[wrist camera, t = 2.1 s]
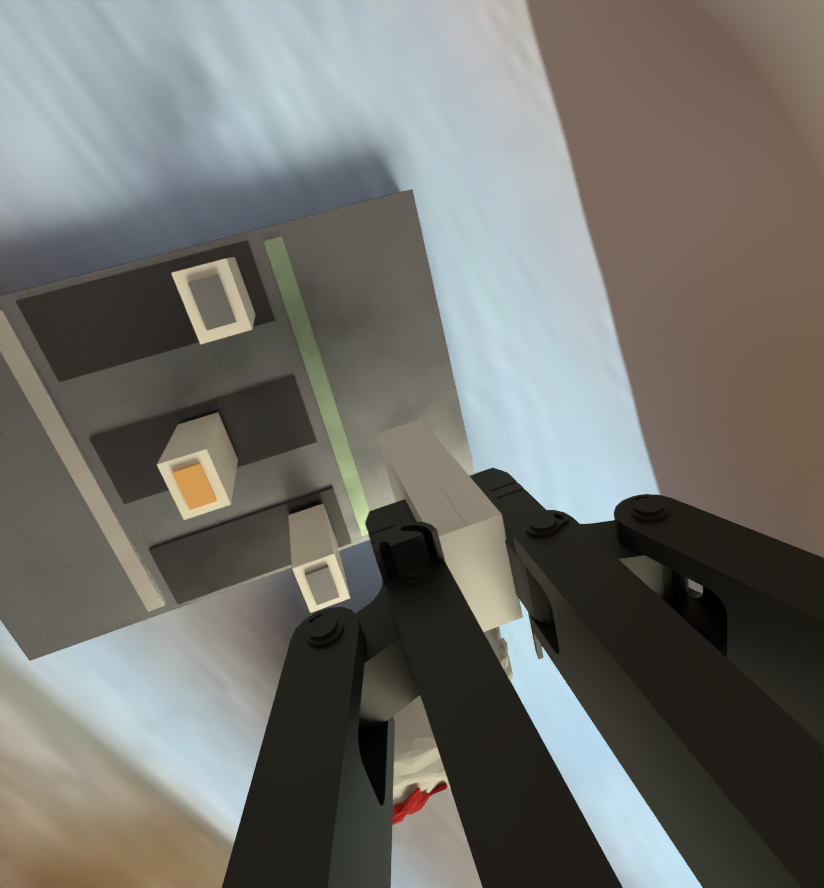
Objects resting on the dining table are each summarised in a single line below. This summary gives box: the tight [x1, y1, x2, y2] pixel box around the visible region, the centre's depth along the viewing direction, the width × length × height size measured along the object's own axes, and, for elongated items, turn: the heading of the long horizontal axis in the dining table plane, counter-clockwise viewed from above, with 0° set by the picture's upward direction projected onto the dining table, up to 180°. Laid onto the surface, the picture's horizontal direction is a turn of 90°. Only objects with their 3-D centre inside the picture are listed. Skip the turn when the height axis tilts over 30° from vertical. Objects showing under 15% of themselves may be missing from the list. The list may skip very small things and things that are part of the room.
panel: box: [0, 189, 475, 660], centre depth 25 cm, size 24×16×2 cm, turn 103°
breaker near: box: [171, 257, 255, 344], centre depth 20 cm, size 2×2×5 cm
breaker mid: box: [157, 413, 238, 520], centre depth 22 cm, size 2×2×5 cm
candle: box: [392, 626, 513, 825], centre depth 30 cm, size 9×11×15 cm
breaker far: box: [288, 504, 350, 613], centre depth 24 cm, size 2×2×5 cm
